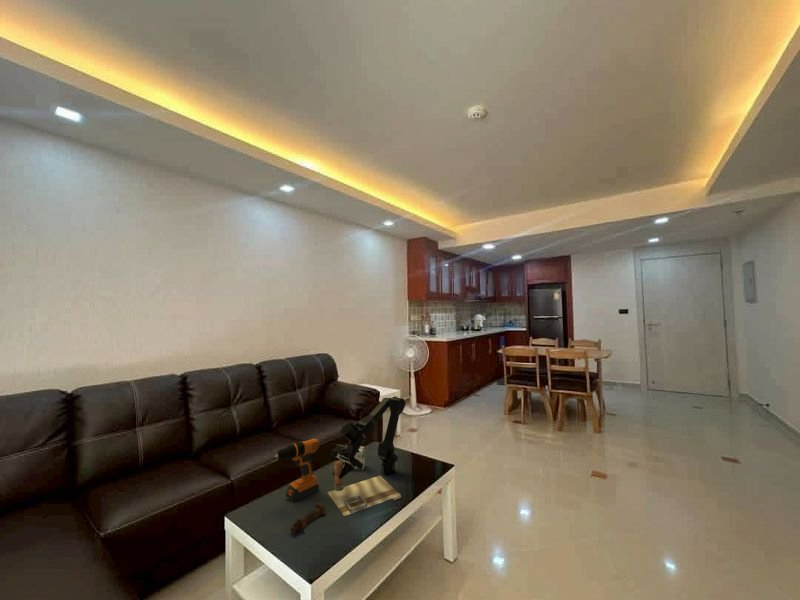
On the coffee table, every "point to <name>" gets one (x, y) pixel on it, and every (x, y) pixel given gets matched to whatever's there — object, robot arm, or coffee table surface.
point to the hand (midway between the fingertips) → (336, 477)
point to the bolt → (308, 518)
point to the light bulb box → (359, 457)
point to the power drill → (302, 459)
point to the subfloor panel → (363, 495)
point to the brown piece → (338, 482)
